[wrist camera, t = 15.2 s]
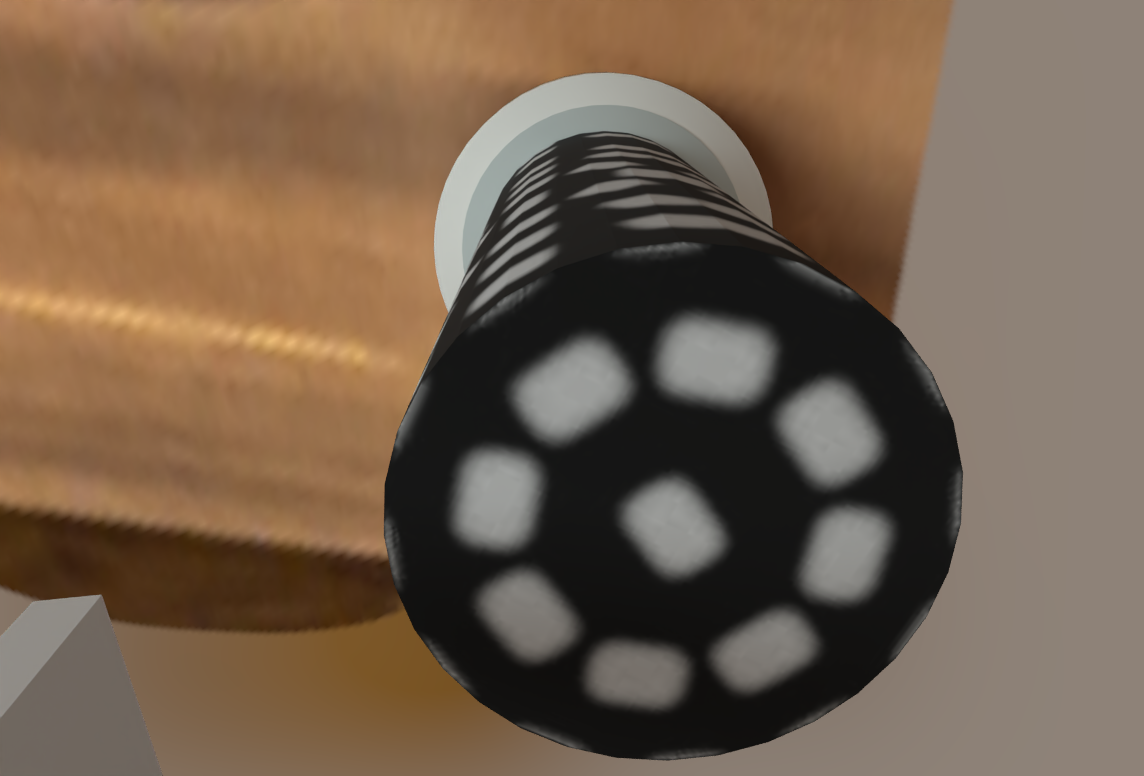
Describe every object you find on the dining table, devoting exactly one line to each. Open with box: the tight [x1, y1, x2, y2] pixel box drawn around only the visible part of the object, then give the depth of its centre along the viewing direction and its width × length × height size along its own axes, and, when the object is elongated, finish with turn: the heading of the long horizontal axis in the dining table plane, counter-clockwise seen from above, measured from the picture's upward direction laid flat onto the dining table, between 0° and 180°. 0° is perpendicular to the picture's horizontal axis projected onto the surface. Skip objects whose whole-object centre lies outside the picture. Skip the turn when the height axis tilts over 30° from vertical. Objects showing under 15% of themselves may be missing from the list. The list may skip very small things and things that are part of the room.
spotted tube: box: [384, 131, 963, 760], centre depth 22 cm, size 8×8×20 cm
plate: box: [434, 72, 773, 312], centre depth 33 cm, size 12×12×3 cm
